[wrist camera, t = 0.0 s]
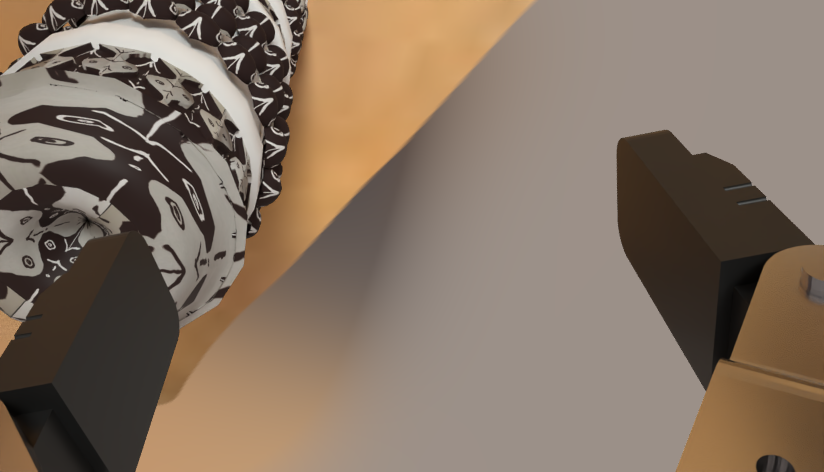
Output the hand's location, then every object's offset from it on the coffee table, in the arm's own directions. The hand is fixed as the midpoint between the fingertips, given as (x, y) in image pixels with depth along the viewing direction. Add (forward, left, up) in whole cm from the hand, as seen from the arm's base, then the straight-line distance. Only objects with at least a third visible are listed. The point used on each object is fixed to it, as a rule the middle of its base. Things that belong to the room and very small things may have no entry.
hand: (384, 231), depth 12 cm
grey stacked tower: (+2, -8, -30) cm, 31 cm away
